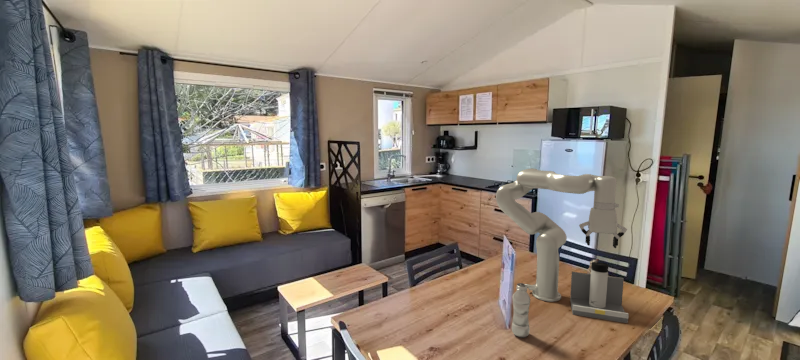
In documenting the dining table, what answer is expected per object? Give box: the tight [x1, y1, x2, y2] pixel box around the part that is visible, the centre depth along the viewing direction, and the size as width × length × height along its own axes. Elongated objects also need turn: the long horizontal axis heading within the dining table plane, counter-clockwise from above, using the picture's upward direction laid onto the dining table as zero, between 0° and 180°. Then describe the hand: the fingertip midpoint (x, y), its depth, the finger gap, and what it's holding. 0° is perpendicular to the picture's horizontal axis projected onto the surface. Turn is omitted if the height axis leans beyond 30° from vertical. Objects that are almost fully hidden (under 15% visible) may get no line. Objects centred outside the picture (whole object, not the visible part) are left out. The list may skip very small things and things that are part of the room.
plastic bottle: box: [511, 282, 531, 338], centre depth 131 cm, size 6×7×20 cm
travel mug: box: [589, 261, 609, 309], centre depth 147 cm, size 6×7×20 cm
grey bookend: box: [569, 271, 629, 324], centre depth 148 cm, size 20×13×14 cm, turn 68°
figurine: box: [586, 258, 600, 274], centre depth 178 cm, size 7×7×12 cm
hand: (601, 245), depth 145 cm, fingers open, 9 cm apart
